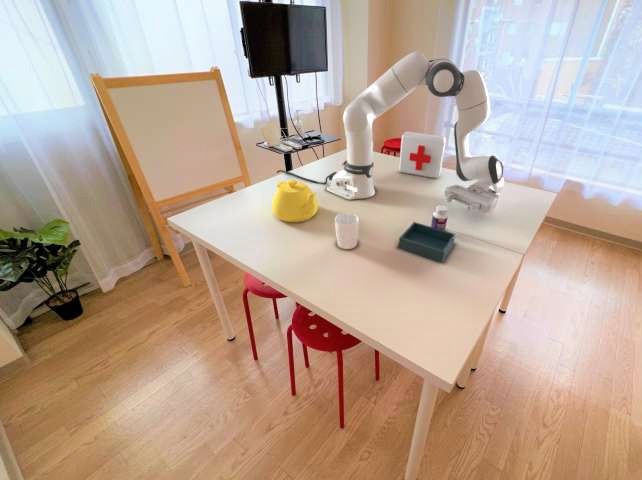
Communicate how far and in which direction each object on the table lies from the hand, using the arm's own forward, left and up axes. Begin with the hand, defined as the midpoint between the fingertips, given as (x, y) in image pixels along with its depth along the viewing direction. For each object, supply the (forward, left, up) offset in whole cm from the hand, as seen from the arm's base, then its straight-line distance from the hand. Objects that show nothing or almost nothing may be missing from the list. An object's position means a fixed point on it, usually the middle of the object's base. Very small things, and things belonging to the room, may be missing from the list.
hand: (458, 204), depth 116 cm
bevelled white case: (-30, +37, -8) cm, 49 cm away
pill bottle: (-3, -11, -8) cm, 14 cm away
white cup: (-27, -36, -8) cm, 46 cm away
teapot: (-55, -29, -8) cm, 63 cm away
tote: (-3, -22, -7) cm, 24 cm away
